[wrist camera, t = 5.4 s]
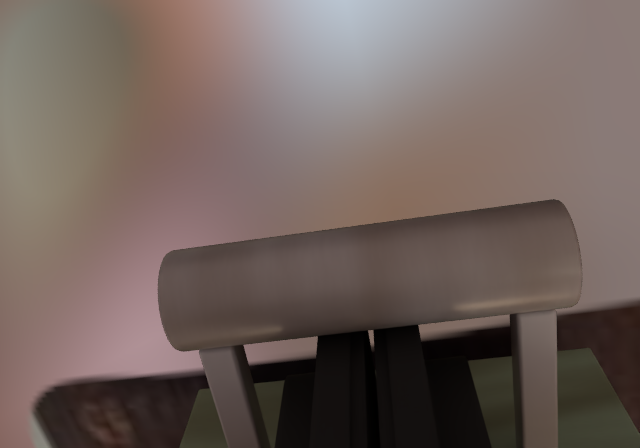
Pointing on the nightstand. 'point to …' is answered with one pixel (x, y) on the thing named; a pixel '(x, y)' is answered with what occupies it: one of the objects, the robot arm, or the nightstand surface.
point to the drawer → (397, 317)
